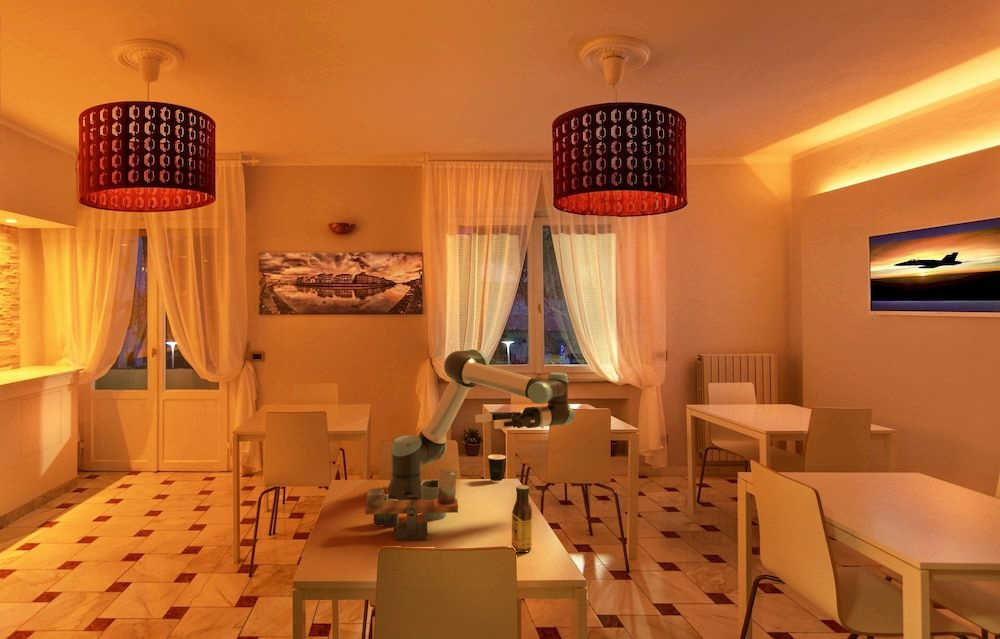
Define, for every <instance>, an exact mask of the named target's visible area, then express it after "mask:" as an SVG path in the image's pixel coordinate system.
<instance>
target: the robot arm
mask: <svg viewBox="0 0 1000 639" xmlns="http://www.w3.org/2000/svg"><path fill="white" fill-rule="evenodd" d="M443 363H444V364H443V368H444V373H445V375H446V376H447V377H448V378H449V379H450V381H449V382H448V385H447V387H446V388H445V390H444V392H443V394H442V397H441V398H440V400H439V403H438V405H437V407H436V409H435V410H434V412H433V414H432V416H431V418H430V420H429V422H428V424H427V425H424V426H423V427H422V428H421V429H420V432H419V434H418V435H416V434H415V435H414V434H413V435H412V434H411V435H408V434H407V435H403V436H402V435H401V436H398V437H397V438H395V439H394V440H393V442H392V445H391V479H390V482H389V483H388V484H389V485H388V488H387V490H386V494H389V496H388V499H397V500H408V496H411V495H417V500H421V483H422V482H423V479H422V466H425V465H426V466H427V465H428V464H431V463H432V464H433V463H435V462H437V461H438V460H440V459H442V458H443V456H444V455H445V453H446V451H447V440H448V439H447V433H448V431H449V429H450V427H451V426H452V424H453V422H454V421H455V420H454V419H455V418H456V416H457V414H458V412H459V410H460V408H461V406H462V405H463V402H464V400H465V399H466V397H467V395H468V393H469V391H470V390H471V389H474V388H475V387H476V386H477V385H481V386H482V387H483V386H484V387H487V388H491V389H495V390H498V391H502V392H505V393H508V394H511V395H515V396H518V397H523V398H525V399H529V400H530V401H531V402H532V403H535V404H538V405H539V404H540V405H539V406H537V405H536V406H529V407H528V406H527V407H525V408H523V411H522V412H521V411H512V412H510V411H509V412H508V411H507V412H504V411H503V412H501V411H499V412H497V411H496V412H494V411H492V412H491V411H490V412H489V413H481V414H475V416H474V417H475V418H474V423H475V424H476V423H487V422H489V423H492V422H493V427H494V428H493V429H495V430H497V429H507V428H508V429H509V428H517V429H521V428H524V427H526V428H527V429H533V428H541V429H544V428H545V427H553V426H554V427H555V426H563V425H569V424H571V423H573V422H574V421H575V420H574V419H575V415H576V414H575V411H574V407H573V405H571V404H569V401H568V400H569V398H568V396H569V378H568V377H569V376H568V374H567V373H565V372H550V373H548V374H547V379H545V380H543V379H542V380H541V379H539V378H534V377H531V376H527V375H523V374H521V373H515V372H512V371H508V370H506V369H505V370H504V369H502V368H499V367H493V366H491V365H490V362H489V359H488V357H487V355H486V353H484V352H483V351H481V350H479V349H469V350H455V351H453V352H451V353H449V354H448V356H446V358H445V359H444V362H443ZM546 403H547V405H541V404H546Z"/></svg>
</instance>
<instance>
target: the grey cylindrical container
mask: <svg viewBox="0 0 1000 639" xmlns="http://www.w3.org/2000/svg"><path fill="white" fill-rule="evenodd" d="M437 496H438V479H429V480H424V481H423V480H422V483H421V499H420V500H434V499H437ZM446 515H447V513H421V516H422V517H421V518H423V519H424V520H426V521H427V520H428V521H438V520H439V521H440V520H443V519H445V518H446ZM444 517H445V518H444Z"/></svg>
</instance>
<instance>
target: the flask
mask: <svg viewBox="0 0 1000 639" xmlns="http://www.w3.org/2000/svg"><path fill="white" fill-rule="evenodd" d="M388 496H389V494H387V493H384V500H397V499H388ZM399 515H400V514H373V525H374V524H375V525H374V526H378V525H383V526H382V527H387V526H394V528H396V527H395V526H398V522H399V518H400V517H399Z"/></svg>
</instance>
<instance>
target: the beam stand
mask: <svg viewBox="0 0 1000 639" xmlns="http://www.w3.org/2000/svg"><path fill="white" fill-rule="evenodd" d="M411 499H414V500H417V495H411V496H408V500H411ZM416 507H417V505H407V514H406V521H405V522H404V521H403V522H402V521H401V522H398V526H397V527H396V533H395V542H396V541H409V542H427V541H428V521H418V513H416Z"/></svg>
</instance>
